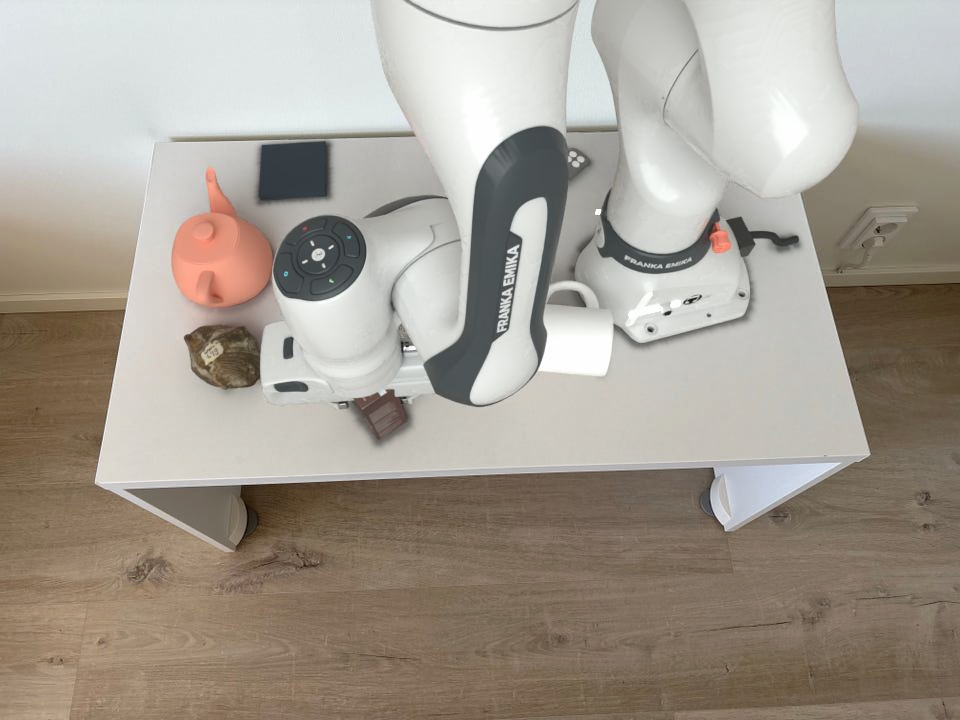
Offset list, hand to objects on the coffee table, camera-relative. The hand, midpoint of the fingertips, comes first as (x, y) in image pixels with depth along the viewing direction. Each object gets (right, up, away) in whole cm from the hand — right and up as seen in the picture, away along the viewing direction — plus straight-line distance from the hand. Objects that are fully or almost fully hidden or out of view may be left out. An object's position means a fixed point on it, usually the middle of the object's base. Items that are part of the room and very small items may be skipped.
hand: (374, 400), depth 74 cm
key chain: (+22, +29, +18) cm, 41 cm away
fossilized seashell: (-19, +4, +7) cm, 20 cm away
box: (0, -2, +4) cm, 5 cm away
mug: (+22, +7, +9) cm, 25 cm away
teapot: (-21, +17, +12) cm, 29 cm away
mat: (-14, +31, +19) cm, 39 cm away
